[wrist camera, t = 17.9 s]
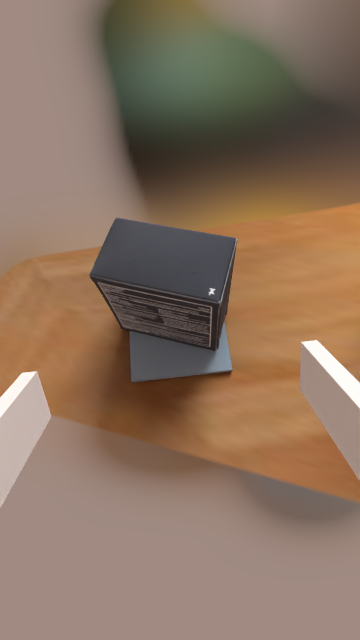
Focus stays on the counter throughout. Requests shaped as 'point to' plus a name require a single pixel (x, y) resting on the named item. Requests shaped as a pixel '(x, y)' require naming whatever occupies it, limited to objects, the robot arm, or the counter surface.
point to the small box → (166, 281)
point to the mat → (174, 358)
